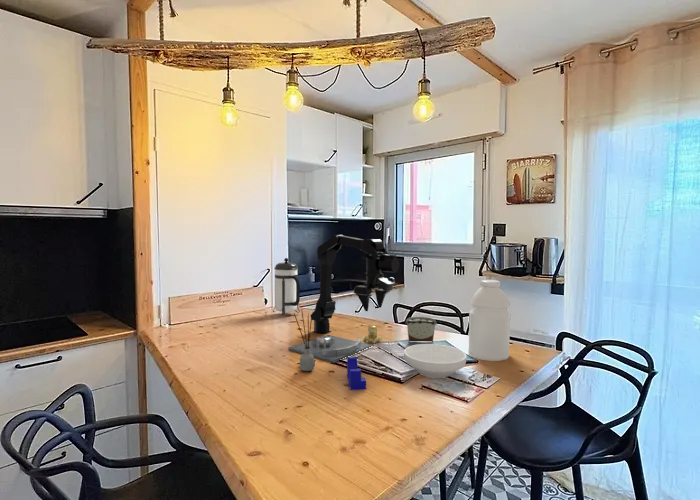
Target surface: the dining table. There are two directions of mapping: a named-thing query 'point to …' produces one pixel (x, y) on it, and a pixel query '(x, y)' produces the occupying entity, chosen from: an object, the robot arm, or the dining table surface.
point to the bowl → (435, 359)
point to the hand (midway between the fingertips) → (373, 309)
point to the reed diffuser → (306, 351)
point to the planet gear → (372, 335)
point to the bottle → (489, 323)
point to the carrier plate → (331, 348)
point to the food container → (420, 328)
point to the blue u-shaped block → (355, 375)
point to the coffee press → (286, 287)
